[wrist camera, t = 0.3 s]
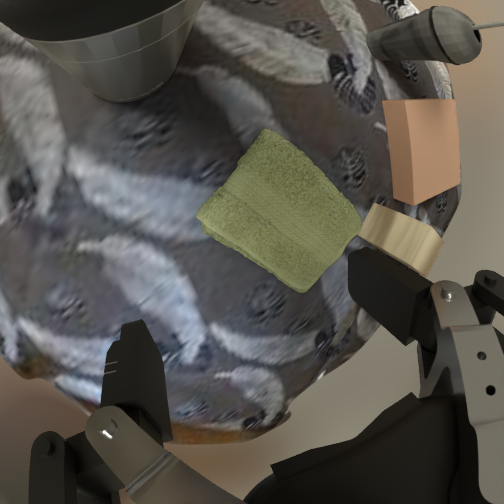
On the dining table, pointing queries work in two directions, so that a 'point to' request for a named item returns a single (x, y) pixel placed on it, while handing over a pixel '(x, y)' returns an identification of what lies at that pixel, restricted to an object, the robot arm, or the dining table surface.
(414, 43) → the beverage cup
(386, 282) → the robot arm
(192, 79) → the dining table surface
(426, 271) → the birch block
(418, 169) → the terracotta plinth
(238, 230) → the washcloth
